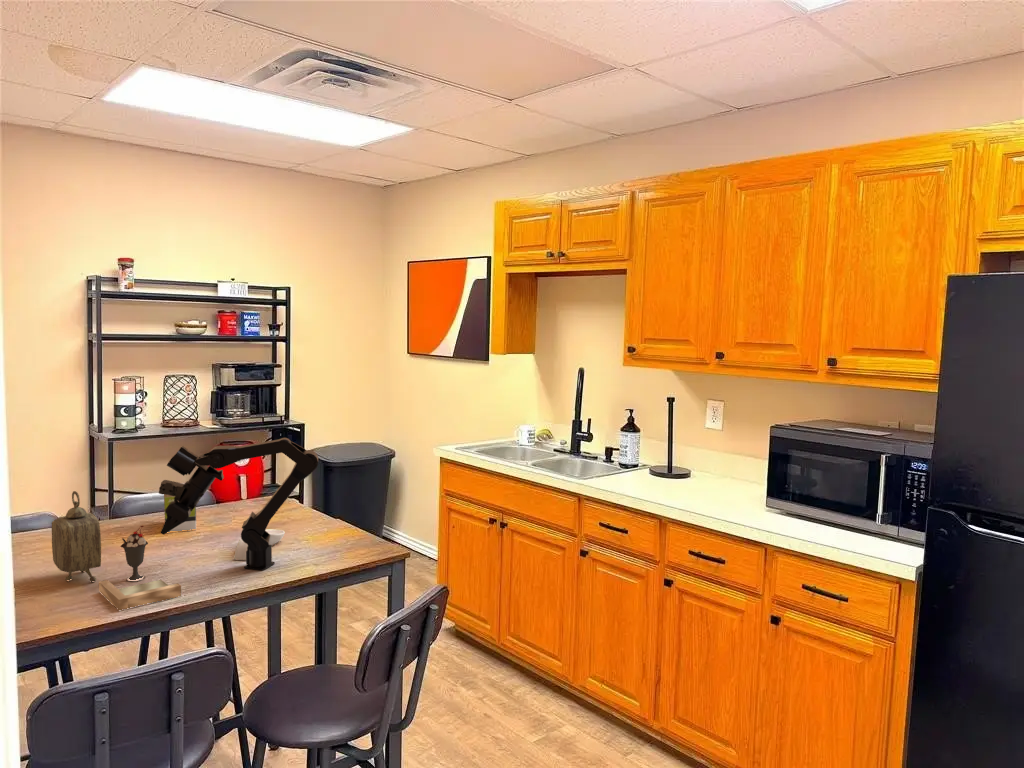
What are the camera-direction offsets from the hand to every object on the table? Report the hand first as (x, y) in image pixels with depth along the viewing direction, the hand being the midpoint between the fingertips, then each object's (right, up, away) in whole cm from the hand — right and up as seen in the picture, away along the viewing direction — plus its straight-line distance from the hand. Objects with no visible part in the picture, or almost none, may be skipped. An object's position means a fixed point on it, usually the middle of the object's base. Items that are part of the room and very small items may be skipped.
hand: (165, 529), depth 209 cm
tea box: (-17, -9, +47) cm, 51 cm away
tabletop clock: (-22, -13, -6) cm, 26 cm away
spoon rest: (+18, -12, +24) cm, 33 cm away
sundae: (-6, -13, -5) cm, 15 cm away
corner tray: (+1, -14, -16) cm, 21 cm away
